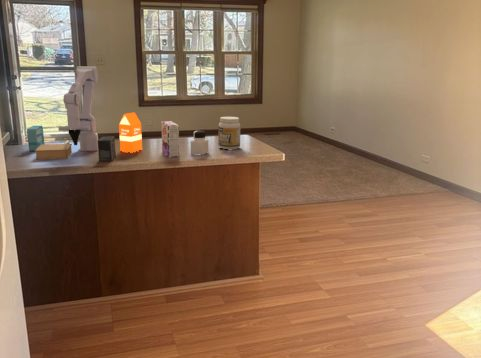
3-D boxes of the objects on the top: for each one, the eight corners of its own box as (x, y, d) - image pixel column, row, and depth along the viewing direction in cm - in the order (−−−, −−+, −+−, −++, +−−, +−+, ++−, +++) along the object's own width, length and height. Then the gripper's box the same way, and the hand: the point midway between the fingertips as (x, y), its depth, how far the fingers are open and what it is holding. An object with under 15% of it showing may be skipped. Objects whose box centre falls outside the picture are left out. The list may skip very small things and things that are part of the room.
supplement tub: (214, 149, 247) (214, 118, 243) (223, 145, 258) (223, 115, 254) (235, 151, 243) (235, 119, 238) (243, 147, 254) (244, 117, 249)
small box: (102, 156, 226) (101, 136, 223) (116, 156, 226) (114, 136, 223) (98, 161, 215) (96, 140, 213) (112, 161, 216) (110, 140, 213)
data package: (38, 151, 234) (35, 128, 231) (28, 151, 234) (26, 128, 230) (44, 147, 246) (42, 125, 242) (36, 147, 245) (33, 125, 242)
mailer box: (71, 152, 233) (71, 145, 232) (67, 158, 220) (66, 150, 219) (42, 153, 230) (42, 145, 229) (36, 159, 217) (35, 151, 216)
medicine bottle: (208, 152, 238) (208, 130, 235) (203, 155, 231) (202, 132, 228) (196, 151, 240) (195, 129, 237) (190, 154, 234) (190, 131, 230)
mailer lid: (71, 144, 232) (71, 139, 231) (67, 150, 219) (66, 144, 218) (41, 145, 229) (40, 139, 229) (35, 151, 216) (34, 145, 215)
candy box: (161, 152, 238) (160, 121, 233) (172, 151, 240) (171, 120, 235) (168, 157, 226) (167, 125, 221) (179, 157, 228) (179, 124, 223)
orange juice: (142, 150, 242) (140, 112, 237) (132, 153, 235) (130, 114, 229) (130, 148, 245) (128, 111, 240) (120, 151, 238) (117, 113, 232)
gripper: (56, 119, 217) (59, 146, 220) (88, 118, 220) (90, 146, 223) (58, 117, 223) (61, 144, 227) (89, 116, 226) (91, 143, 230)
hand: (75, 144), depth 226 cm, fingers closed
